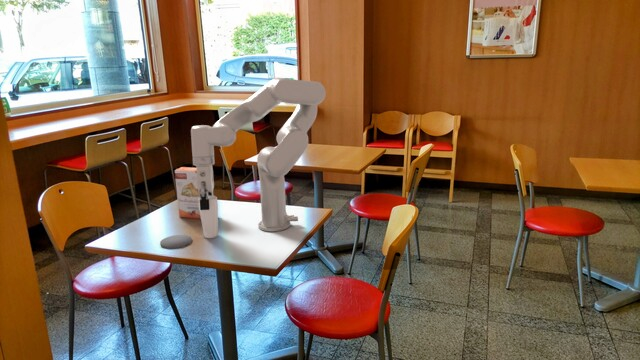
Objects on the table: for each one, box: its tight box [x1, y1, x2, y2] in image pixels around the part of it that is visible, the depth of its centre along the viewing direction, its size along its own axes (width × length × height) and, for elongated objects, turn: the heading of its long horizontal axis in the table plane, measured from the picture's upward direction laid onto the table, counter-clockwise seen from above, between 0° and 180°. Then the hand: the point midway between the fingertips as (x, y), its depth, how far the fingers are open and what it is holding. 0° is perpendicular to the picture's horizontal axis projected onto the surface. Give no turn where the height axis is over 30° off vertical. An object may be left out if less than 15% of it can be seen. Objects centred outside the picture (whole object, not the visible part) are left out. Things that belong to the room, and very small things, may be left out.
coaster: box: [159, 234, 193, 250], centre depth 161 cm, size 11×11×1 cm
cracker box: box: [174, 166, 214, 220], centre depth 186 cm, size 14×6×21 cm, turn 77°
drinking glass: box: [198, 195, 219, 239], centre depth 164 cm, size 7×7×15 cm
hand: (206, 205), depth 163 cm, fingers open, 9 cm apart
